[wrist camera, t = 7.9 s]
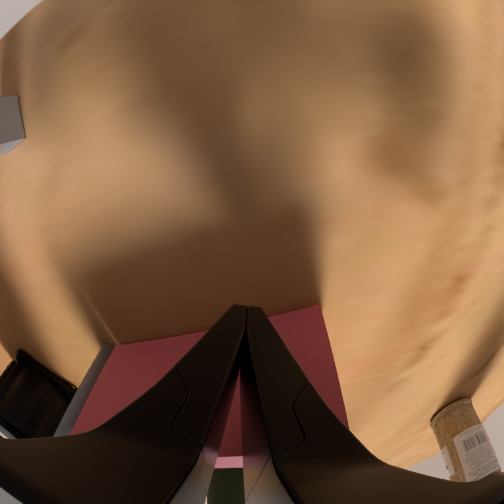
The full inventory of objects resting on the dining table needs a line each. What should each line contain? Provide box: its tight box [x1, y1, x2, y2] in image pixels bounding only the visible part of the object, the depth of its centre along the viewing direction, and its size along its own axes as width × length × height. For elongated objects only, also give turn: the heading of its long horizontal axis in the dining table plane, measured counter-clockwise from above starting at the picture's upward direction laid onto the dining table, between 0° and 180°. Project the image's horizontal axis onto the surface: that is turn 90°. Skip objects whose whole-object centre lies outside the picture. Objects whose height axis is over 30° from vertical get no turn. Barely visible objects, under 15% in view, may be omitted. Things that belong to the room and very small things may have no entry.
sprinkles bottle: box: [430, 398, 501, 482], centre depth 11 cm, size 5×5×13 cm
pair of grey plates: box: [0, 96, 114, 437], centre depth 9 cm, size 20×2×7 cm, turn 15°
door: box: [70, 304, 349, 468], centre depth 10 cm, size 11×2×6 cm, turn 108°
